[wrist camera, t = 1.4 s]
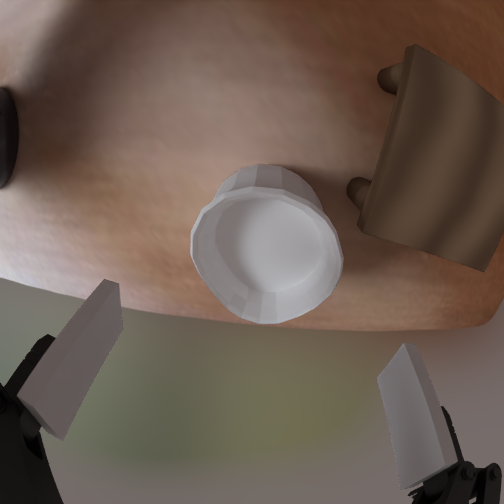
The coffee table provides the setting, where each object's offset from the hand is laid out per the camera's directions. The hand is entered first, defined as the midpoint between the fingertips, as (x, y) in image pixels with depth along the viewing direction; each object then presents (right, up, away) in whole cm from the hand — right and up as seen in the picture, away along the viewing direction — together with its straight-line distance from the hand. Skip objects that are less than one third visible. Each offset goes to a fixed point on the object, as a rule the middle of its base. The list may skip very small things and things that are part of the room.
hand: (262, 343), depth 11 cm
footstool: (+16, +13, +10) cm, 23 cm away
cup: (+1, +7, +14) cm, 16 cm away
